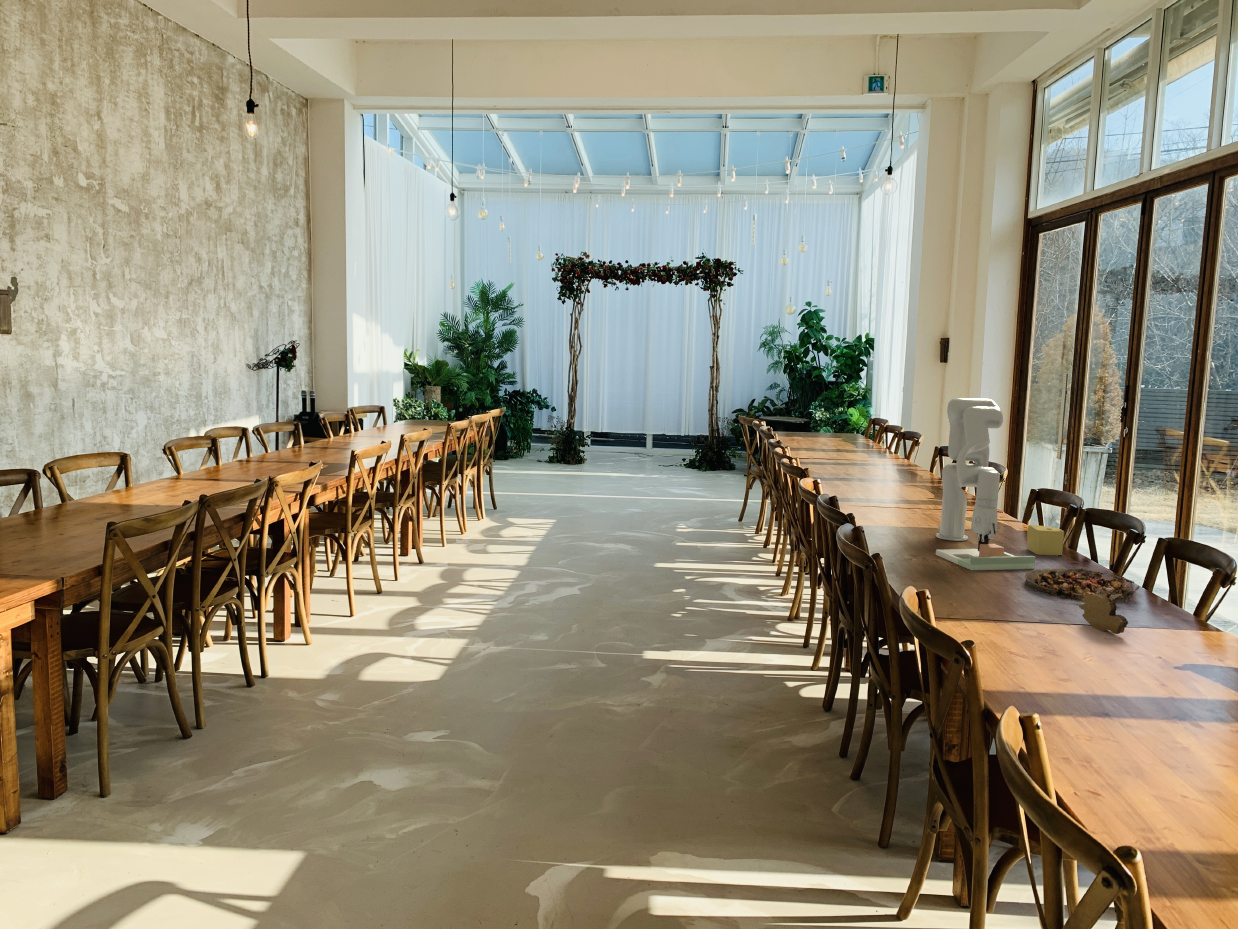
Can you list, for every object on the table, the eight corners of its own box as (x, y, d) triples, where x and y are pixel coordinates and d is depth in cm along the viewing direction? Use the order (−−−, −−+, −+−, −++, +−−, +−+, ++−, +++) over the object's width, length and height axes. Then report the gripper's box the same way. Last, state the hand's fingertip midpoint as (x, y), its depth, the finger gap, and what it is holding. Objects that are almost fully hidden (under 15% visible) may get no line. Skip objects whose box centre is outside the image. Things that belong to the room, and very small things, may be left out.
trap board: (935, 554, 338) (936, 543, 338) (994, 553, 343) (995, 542, 342) (971, 570, 315) (972, 558, 314) (1034, 568, 319) (1035, 556, 319)
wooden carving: (1132, 638, 242) (1135, 603, 241) (1119, 639, 241) (1122, 603, 240) (1085, 620, 258) (1088, 587, 257) (1072, 621, 257) (1075, 588, 255)
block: (978, 557, 327) (979, 544, 326) (993, 557, 328) (994, 543, 327) (988, 561, 321) (989, 547, 320) (1003, 560, 322) (1004, 547, 321)
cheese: (1052, 550, 352) (1054, 525, 350) (1063, 556, 341) (1065, 531, 340) (1025, 549, 353) (1027, 524, 351) (1035, 555, 342) (1037, 530, 341)
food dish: (1154, 613, 271) (1156, 588, 270) (1038, 606, 278) (1040, 582, 277) (1114, 580, 305) (1116, 559, 304) (1012, 575, 312) (1014, 553, 311)
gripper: (966, 499, 334) (962, 547, 336) (989, 506, 319) (985, 556, 321) (984, 499, 335) (980, 546, 337) (1007, 506, 320) (1003, 556, 323)
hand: (982, 551), depth 329 cm, fingers closed
